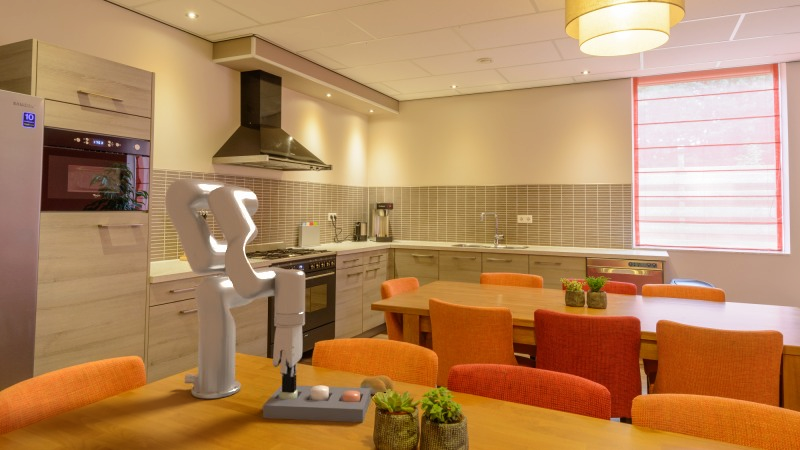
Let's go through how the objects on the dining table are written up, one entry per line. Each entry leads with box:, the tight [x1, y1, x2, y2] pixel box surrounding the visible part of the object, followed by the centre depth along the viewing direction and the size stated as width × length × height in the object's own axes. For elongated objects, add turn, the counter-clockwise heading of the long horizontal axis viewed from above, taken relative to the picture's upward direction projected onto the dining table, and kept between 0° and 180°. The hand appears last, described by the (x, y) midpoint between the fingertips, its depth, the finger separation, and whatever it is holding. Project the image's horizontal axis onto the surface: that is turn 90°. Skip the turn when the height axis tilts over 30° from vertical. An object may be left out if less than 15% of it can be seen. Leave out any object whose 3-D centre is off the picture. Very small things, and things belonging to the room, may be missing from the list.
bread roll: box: [359, 374, 394, 394], centre depth 131 cm, size 8×9×4 cm
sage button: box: [280, 389, 298, 400], centre depth 117 cm, size 4×4×4 cm
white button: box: [311, 384, 330, 401], centre depth 117 cm, size 4×4×4 cm
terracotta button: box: [342, 391, 360, 402], centre depth 116 cm, size 4×4×4 cm
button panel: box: [262, 384, 371, 423], centre depth 117 cm, size 24×14×3 cm, turn 86°
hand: (289, 391), depth 117 cm, fingers closed
